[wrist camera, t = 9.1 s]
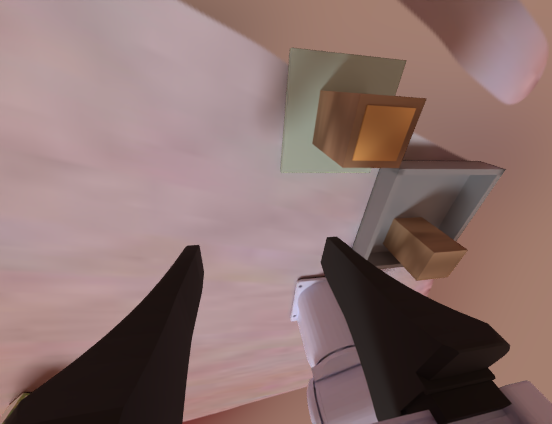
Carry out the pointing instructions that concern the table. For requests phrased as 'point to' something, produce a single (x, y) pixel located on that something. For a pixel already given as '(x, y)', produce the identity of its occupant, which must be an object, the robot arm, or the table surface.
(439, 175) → the bin
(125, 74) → the table surface
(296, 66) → the mat
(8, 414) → the syrup box
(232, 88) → the table surface
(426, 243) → the plain block
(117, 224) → the table surface
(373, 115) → the label block
